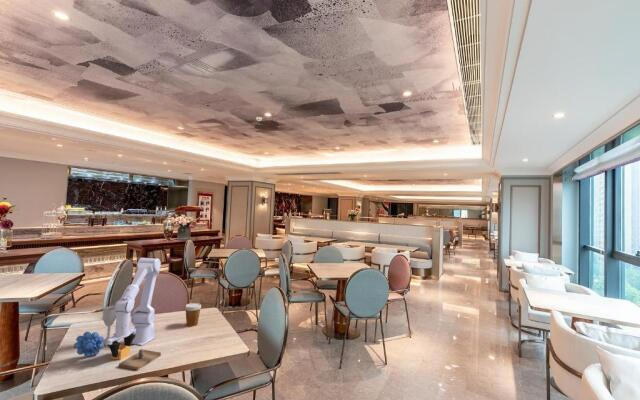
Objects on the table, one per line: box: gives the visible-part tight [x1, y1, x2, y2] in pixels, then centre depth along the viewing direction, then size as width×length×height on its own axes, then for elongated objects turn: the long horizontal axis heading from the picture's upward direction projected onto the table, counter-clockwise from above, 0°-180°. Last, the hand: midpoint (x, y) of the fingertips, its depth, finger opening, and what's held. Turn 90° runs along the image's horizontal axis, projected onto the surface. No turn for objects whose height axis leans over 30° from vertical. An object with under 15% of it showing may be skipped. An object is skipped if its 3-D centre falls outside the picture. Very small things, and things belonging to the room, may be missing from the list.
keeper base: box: [118, 348, 162, 371], centre depth 140 cm, size 14×10×5 cm
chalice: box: [101, 305, 116, 346], centre depth 156 cm, size 7×7×18 cm
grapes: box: [73, 331, 105, 358], centre depth 141 cm, size 12×7×12 cm, turn 126°
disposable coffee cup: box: [184, 302, 202, 327], centre depth 184 cm, size 10×10×12 cm
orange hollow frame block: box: [111, 344, 131, 361], centre depth 143 cm, size 5×5×4 cm
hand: (120, 353), depth 143 cm, fingers open, 6 cm apart
